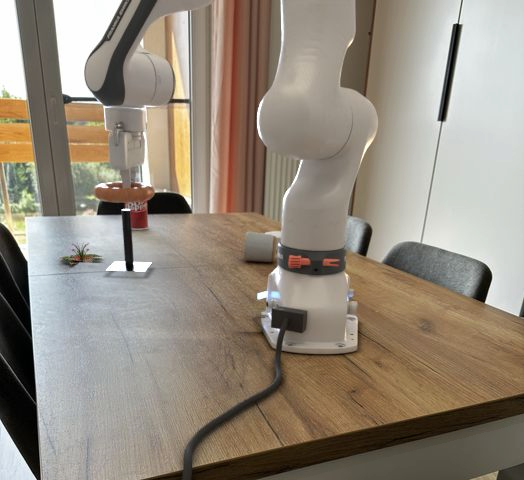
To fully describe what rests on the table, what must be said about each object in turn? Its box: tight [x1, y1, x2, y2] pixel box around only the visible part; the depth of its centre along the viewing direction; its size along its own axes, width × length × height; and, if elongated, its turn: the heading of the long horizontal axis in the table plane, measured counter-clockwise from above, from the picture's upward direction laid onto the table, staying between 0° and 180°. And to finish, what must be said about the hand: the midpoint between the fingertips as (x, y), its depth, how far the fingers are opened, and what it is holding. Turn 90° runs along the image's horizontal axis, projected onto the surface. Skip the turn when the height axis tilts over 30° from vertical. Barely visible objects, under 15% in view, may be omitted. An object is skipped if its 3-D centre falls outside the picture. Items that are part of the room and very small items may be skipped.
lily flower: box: [59, 242, 105, 266], centre depth 129 cm, size 12×12×5 cm
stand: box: [105, 208, 153, 273], centre depth 119 cm, size 9×9×14 cm
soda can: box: [124, 200, 149, 231], centre depth 173 cm, size 7×7×12 cm
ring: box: [92, 181, 156, 204], centre depth 115 cm, size 13×13×3 cm
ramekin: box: [264, 230, 281, 252], centre depth 153 cm, size 9×9×4 cm
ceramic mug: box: [243, 231, 277, 263], centre depth 137 cm, size 11×8×8 cm
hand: (129, 188), depth 119 cm, fingers closed on ring, 3 cm apart
